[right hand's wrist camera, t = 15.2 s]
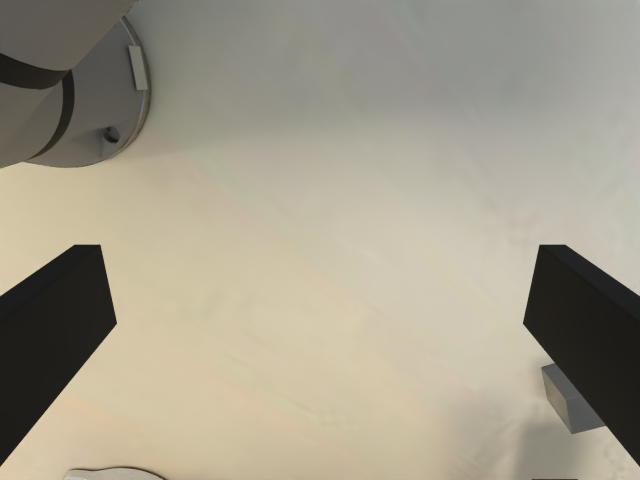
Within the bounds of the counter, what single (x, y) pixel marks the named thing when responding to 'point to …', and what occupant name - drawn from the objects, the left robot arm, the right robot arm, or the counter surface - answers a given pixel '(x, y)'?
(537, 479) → the walnut plank
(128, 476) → the left robot arm
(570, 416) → the slate block
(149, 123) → the counter surface
